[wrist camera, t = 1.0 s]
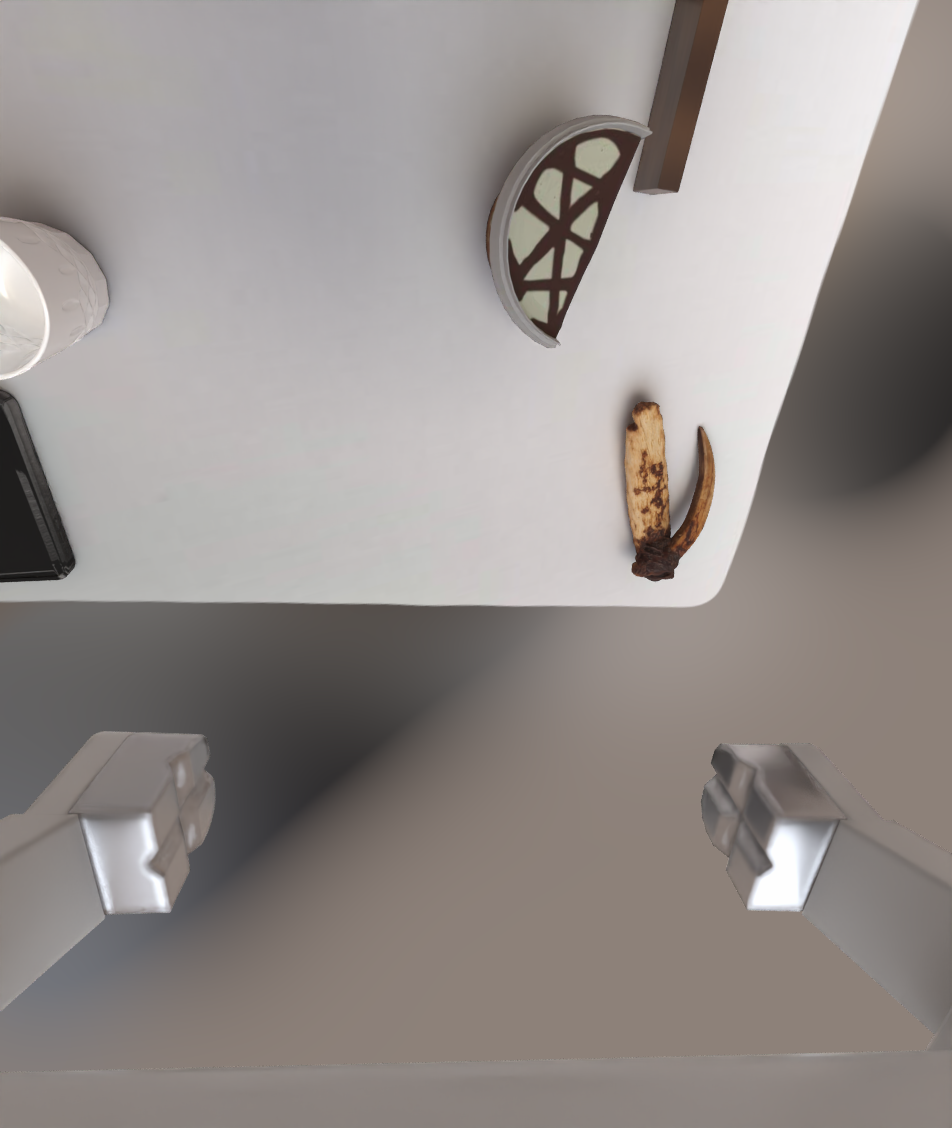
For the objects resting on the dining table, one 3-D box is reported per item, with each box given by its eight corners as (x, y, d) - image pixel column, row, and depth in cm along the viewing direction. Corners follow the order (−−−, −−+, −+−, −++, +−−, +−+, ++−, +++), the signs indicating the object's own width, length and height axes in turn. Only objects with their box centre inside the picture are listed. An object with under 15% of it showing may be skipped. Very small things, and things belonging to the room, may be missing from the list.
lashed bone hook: (705, 549, 57) (705, 373, 47) (732, 574, 53) (738, 388, 44) (619, 577, 57) (600, 405, 47) (639, 604, 53) (624, 423, 43)
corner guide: (489, -90, 32) (504, -128, 28) (706, -30, 34) (743, -57, 31) (464, 160, 37) (473, 154, 34) (652, 195, 40) (678, 192, 37)
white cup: (-1, 181, 34) (-123, 167, 26) (138, 265, 37) (70, 277, 29) (-35, 300, 37) (-156, 323, 28) (96, 369, 40) (24, 408, 32)
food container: (510, 96, 36) (554, 57, 27) (593, 142, 38) (658, 119, 29) (443, 296, 41) (463, 315, 33) (519, 328, 43) (556, 354, 35)
